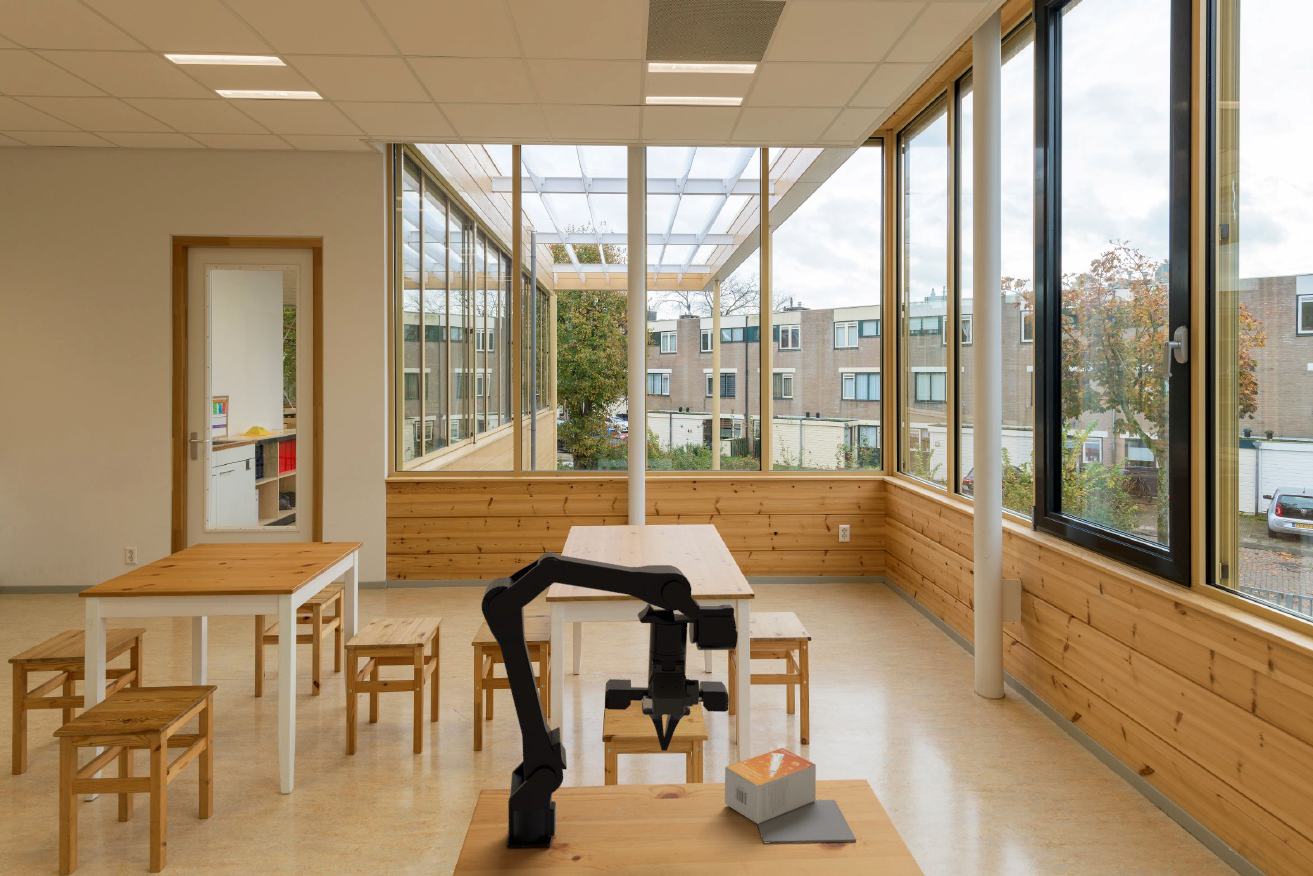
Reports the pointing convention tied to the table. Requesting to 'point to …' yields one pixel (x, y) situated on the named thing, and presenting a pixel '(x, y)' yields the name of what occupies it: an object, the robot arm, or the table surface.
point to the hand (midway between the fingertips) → (664, 749)
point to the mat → (808, 825)
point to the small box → (770, 785)
